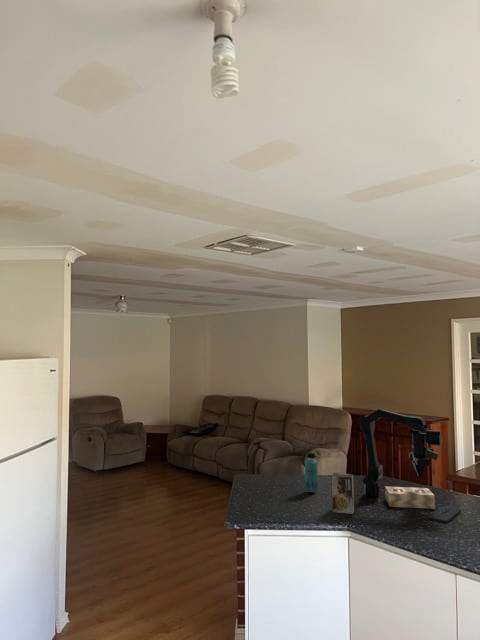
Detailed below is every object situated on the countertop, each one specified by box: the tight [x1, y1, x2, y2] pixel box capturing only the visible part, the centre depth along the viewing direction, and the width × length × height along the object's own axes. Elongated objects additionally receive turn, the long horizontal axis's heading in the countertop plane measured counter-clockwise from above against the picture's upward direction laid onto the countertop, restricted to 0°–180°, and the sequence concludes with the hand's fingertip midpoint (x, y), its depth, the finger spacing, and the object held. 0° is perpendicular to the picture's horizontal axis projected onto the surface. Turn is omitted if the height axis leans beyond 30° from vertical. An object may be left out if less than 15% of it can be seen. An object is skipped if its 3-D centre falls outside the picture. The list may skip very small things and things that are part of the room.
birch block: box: [384, 485, 436, 510], centre depth 222 cm, size 20×12×6 cm, turn 82°
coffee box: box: [331, 472, 355, 515], centre depth 211 cm, size 9×6×16 cm
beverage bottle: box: [304, 452, 318, 492], centre depth 240 cm, size 6×7×20 cm
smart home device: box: [427, 505, 462, 524], centre depth 205 cm, size 8×2×20 cm
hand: (419, 477), depth 222 cm, fingers closed
